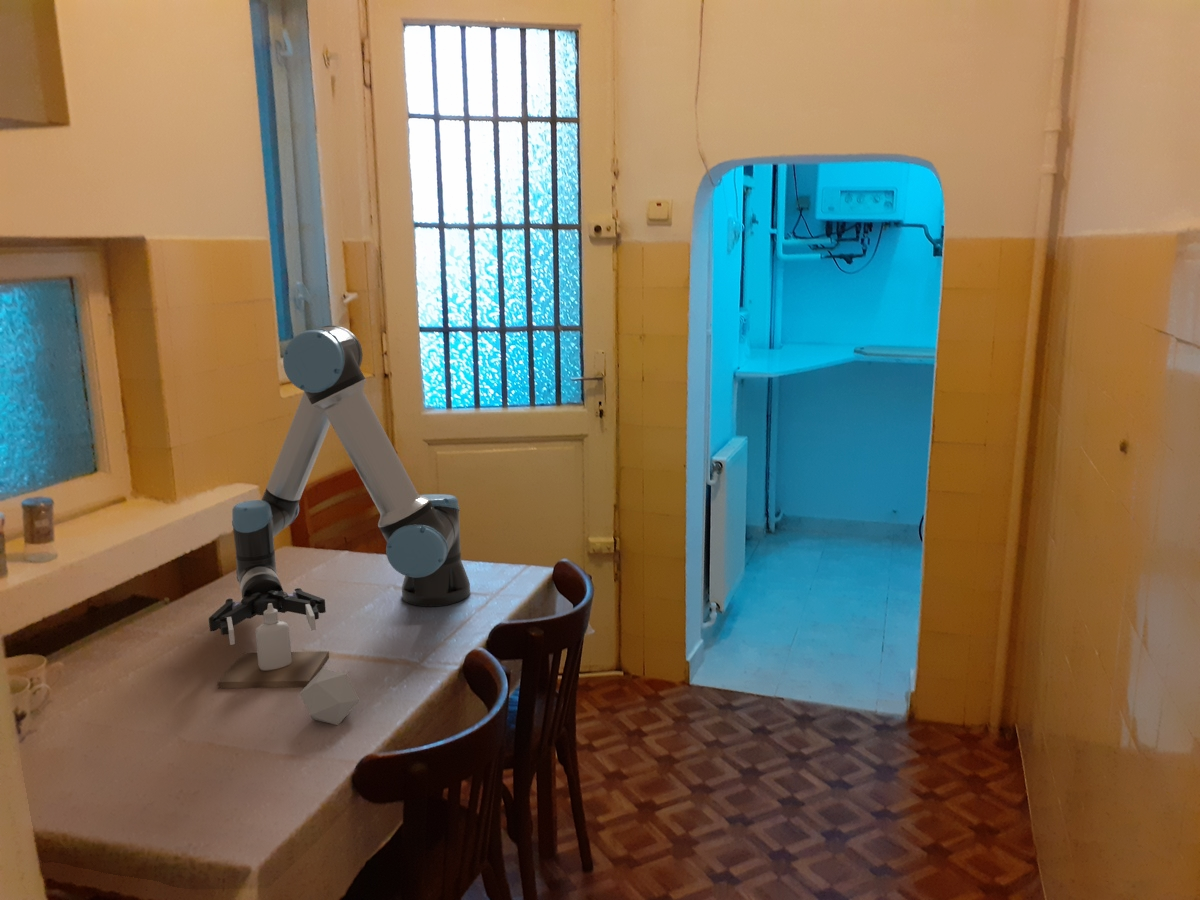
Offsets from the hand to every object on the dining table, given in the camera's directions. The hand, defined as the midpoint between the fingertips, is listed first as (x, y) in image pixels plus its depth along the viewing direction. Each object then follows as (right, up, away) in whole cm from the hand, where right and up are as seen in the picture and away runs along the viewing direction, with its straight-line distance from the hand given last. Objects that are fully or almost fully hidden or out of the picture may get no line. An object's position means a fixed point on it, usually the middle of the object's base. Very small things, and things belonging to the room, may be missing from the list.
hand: (273, 630), depth 155 cm
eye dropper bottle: (-1, -8, +5) cm, 9 cm away
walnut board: (-1, -9, +5) cm, 10 cm away
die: (+14, -12, -11) cm, 22 cm away
